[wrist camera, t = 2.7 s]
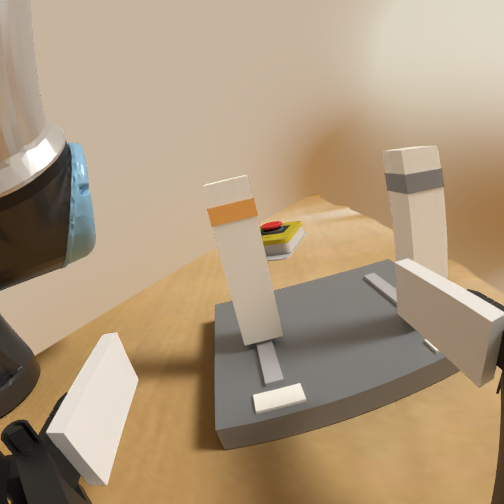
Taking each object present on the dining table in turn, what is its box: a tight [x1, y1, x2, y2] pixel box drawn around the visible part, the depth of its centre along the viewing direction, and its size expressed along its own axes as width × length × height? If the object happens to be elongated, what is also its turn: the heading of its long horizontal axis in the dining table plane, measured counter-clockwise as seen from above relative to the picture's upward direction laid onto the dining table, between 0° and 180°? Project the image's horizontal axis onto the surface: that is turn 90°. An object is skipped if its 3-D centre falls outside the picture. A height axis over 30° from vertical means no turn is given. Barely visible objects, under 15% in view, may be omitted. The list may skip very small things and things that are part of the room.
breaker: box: [382, 146, 447, 279], centre depth 20 cm, size 3×3×12 cm
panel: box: [215, 259, 460, 450], centre depth 25 cm, size 18×20×2 cm
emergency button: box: [260, 221, 306, 261], centre depth 57 cm, size 9×4×15 cm
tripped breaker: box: [203, 175, 283, 345], centre depth 23 cm, size 3×3×12 cm
